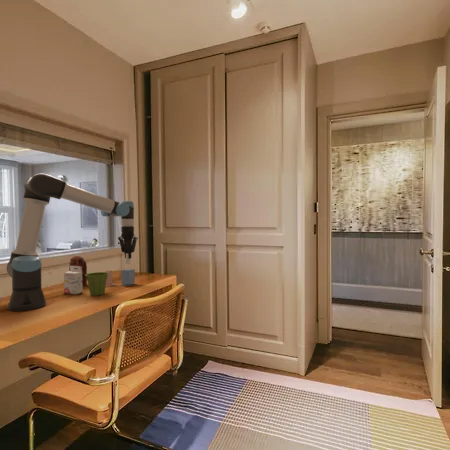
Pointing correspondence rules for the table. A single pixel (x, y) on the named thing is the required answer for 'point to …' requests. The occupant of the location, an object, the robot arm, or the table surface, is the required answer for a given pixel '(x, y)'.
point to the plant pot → (97, 282)
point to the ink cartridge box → (73, 280)
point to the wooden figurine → (80, 262)
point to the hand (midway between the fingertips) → (128, 263)
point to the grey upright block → (127, 276)
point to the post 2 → (127, 284)
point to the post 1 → (109, 278)
